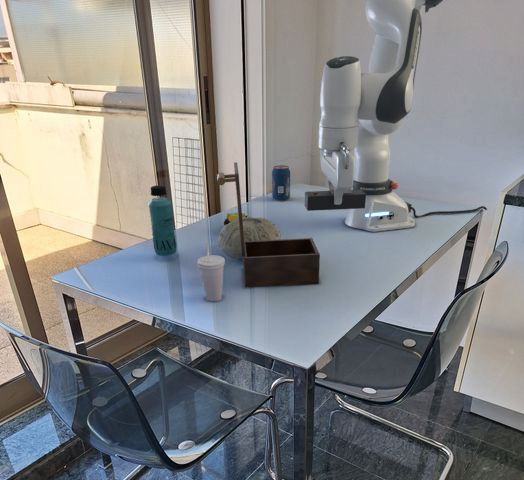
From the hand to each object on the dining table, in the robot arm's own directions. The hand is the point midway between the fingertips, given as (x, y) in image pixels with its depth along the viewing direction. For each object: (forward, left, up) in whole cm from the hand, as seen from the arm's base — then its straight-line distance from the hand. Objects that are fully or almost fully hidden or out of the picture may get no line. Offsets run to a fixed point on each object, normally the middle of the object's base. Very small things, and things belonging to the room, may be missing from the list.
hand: (334, 200), depth 122 cm
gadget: (+23, -40, -19) cm, 50 cm away
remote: (0, 0, -2) cm, 2 cm away
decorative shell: (+20, -16, -19) cm, 33 cm away
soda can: (+5, -74, -19) cm, 77 cm away
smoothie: (+30, +11, -19) cm, 38 cm away
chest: (+13, 0, -19) cm, 23 cm away
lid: (+23, 0, -1) cm, 23 cm away
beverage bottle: (+44, -18, -19) cm, 52 cm away
